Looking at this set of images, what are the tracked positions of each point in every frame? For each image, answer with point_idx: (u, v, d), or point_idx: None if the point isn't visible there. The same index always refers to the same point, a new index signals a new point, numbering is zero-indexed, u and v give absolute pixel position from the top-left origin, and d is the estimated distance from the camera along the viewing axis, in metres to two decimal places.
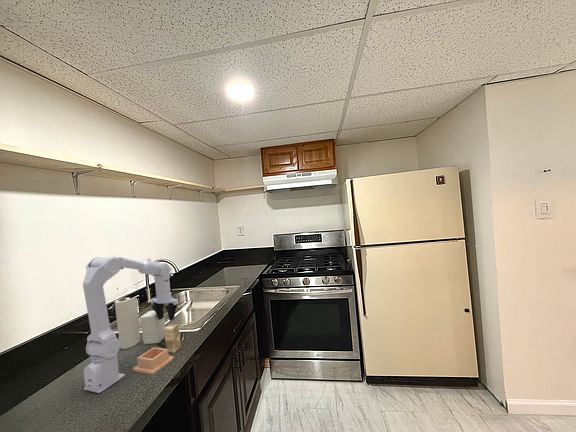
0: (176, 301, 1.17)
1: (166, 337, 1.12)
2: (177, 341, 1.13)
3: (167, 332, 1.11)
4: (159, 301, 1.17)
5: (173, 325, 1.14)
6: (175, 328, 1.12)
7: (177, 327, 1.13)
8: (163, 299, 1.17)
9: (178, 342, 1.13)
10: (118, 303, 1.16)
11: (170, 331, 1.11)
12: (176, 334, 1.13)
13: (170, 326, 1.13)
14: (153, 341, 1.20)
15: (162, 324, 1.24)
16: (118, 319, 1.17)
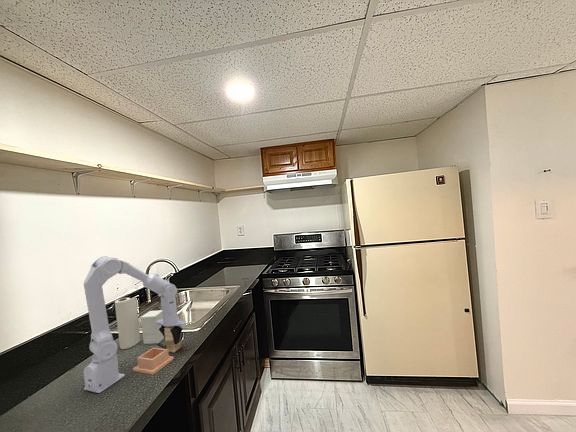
0: (184, 324, 1.10)
1: (166, 337, 1.12)
2: None
3: (167, 332, 1.11)
4: (166, 324, 1.10)
5: None
6: None
7: None
8: (170, 322, 1.10)
9: None
10: (118, 303, 1.16)
11: (170, 331, 1.11)
12: None
13: (170, 326, 1.13)
14: (153, 341, 1.20)
15: None
16: (118, 319, 1.17)
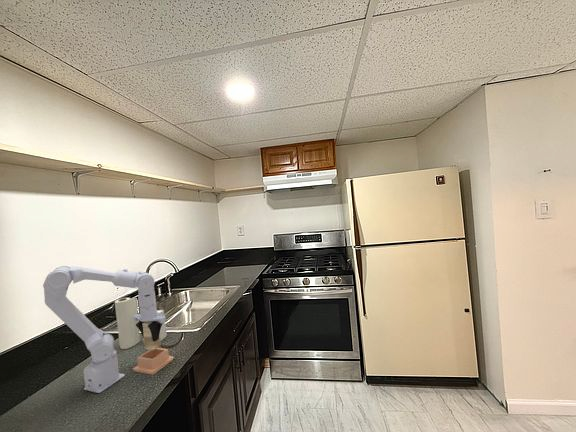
0: (163, 319, 1.00)
1: (144, 333, 1.01)
2: None
3: (146, 327, 1.01)
4: (143, 319, 0.99)
5: None
6: None
7: None
8: (147, 316, 1.00)
9: None
10: (118, 303, 1.16)
11: None
12: None
13: (149, 321, 1.03)
14: None
15: (162, 324, 1.24)
16: (118, 319, 1.17)
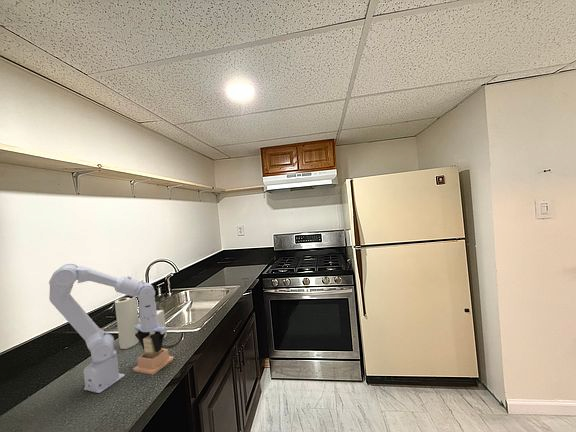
0: (164, 329, 0.99)
1: (145, 349, 1.01)
2: (158, 353, 1.02)
3: (146, 343, 1.01)
4: (143, 329, 0.99)
5: None
6: None
7: None
8: (148, 327, 0.99)
9: (159, 353, 1.03)
10: (118, 303, 1.16)
11: (149, 342, 1.00)
12: None
13: None
14: None
15: (162, 324, 1.24)
16: (118, 319, 1.17)
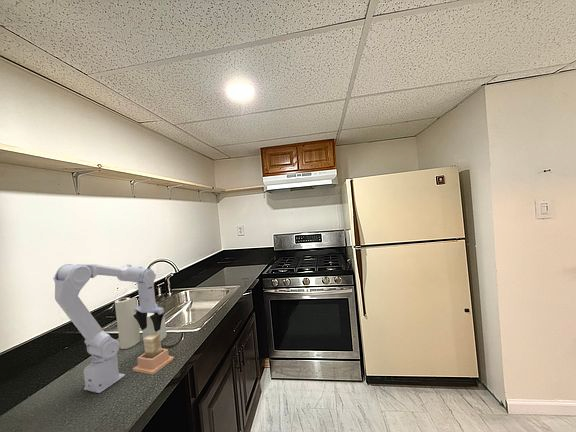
0: (161, 310, 1.07)
1: (146, 348, 1.01)
2: (158, 353, 1.03)
3: (147, 343, 1.01)
4: (142, 310, 1.07)
5: (154, 335, 1.03)
6: (156, 338, 1.02)
7: (158, 337, 1.03)
8: (147, 308, 1.07)
9: (159, 353, 1.03)
10: (118, 303, 1.16)
11: (150, 342, 1.00)
12: (157, 345, 1.02)
13: (150, 336, 1.03)
14: None
15: (162, 324, 1.24)
16: (118, 319, 1.17)
